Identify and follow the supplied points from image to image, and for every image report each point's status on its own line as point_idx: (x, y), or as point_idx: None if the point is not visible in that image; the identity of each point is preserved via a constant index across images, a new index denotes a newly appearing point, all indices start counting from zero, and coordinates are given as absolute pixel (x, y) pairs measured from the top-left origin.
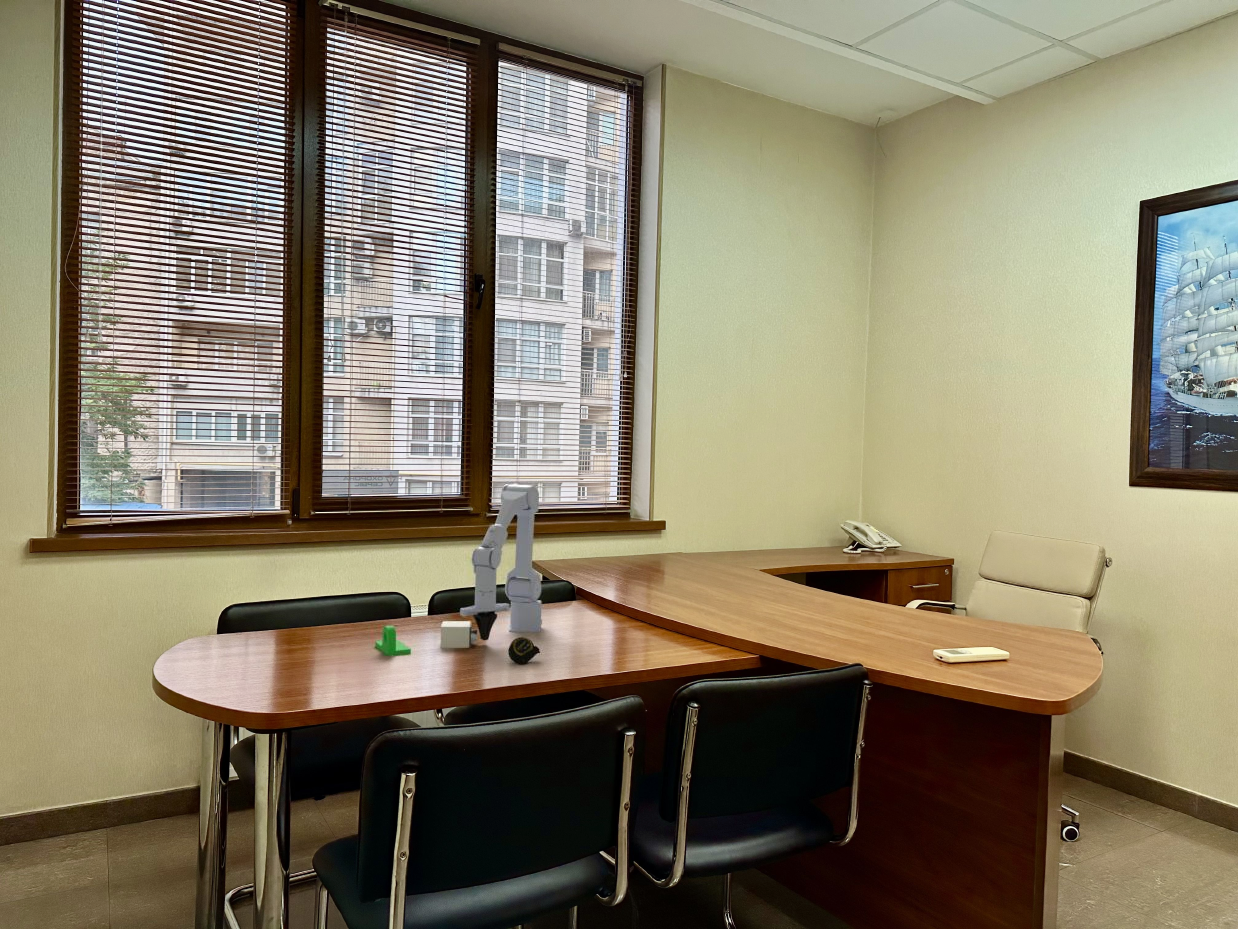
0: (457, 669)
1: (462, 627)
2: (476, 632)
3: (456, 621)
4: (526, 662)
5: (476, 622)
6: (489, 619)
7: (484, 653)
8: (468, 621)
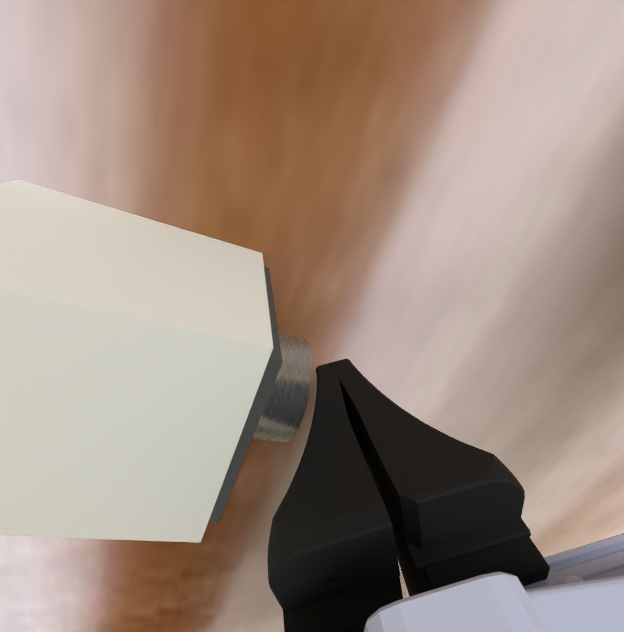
0: (118, 614)
1: (132, 535)
2: (279, 440)
3: (60, 318)
4: None
5: (301, 470)
6: (403, 575)
7: (281, 461)
8: (242, 351)
